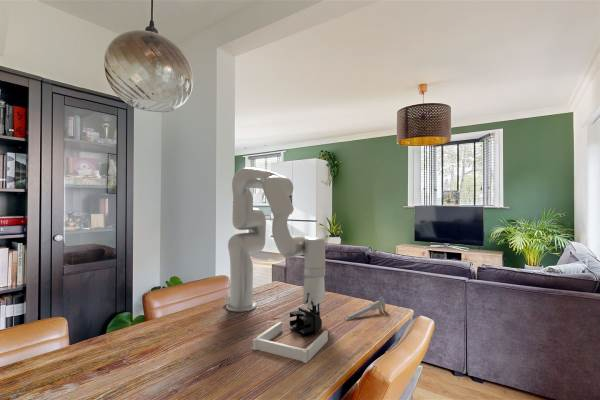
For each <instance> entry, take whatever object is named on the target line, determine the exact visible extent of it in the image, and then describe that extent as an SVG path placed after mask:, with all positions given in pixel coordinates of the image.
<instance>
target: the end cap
mask: <svg viewBox="0 0 600 400" xmlns="http://www.w3.org/2000/svg"><path fill="white" fill-rule="evenodd" d="M293 317H296V318H294V319H291V320H289V326H290V328H289V329H290V331H292V332H293V333H295V334H297V335H298V336H300V337H301V338H304V339H307V338H312V337H314V336H315V335H317V334H318V333H319V332H320V331H321V328H322V326H323V321H322V317H321V316H320V317H319V316H318V315H315V314H313V313H311V312H310V310H308V309H306V308H303V307H298V309H297V310H295V311H290V312H289V318H293Z"/></svg>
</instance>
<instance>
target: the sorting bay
mask: <svg viewBox="0 0 600 400" xmlns="http://www.w3.org/2000/svg"><path fill="white" fill-rule="evenodd" d="M282 332H283V322H282V321H279V322H277V323H275V324H274V325H271V327H269V328H268V329H266V330H265V331H263V332H262V333H261V334H259V335H258V336H255V337H254V338H253V339H252V350H254V351H256V350H257V351H262V352H264V353H269V354H274V355H277V356H280V357H285V358H287V359H288V358H289V359H292V360H296V361H300V362H302V363H303V364H304V363H305V364H307V363H308V362H309V361H310V360H311V359H312V358H313V357H314V356H315V355H316V354H317V353H318V352H319V350H320V349H322V347H323V346H325V345H326V343H327V342H328V341H329V331H328V330H324V331H323V332H322V333H321V334H320V335H319V336H318V337H316V339H314V340H313V342H311V343H310V344H309V345H308V346H307V347H306V348H303V347H297V346H293V345H289V344H285V343H280V342H276V341H272V339H274V337H276V336H277V335H279V334H280V333H282Z"/></svg>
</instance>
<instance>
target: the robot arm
mask: <svg viewBox="0 0 600 400" xmlns="http://www.w3.org/2000/svg"><path fill="white" fill-rule="evenodd" d="M231 188H232V225H233V227H234V228H235V229H236V230H239V231H244V230H245V231H247V230H248V232H240V233H239V232H238V233H235V234H233V235H232V236H231V237H230V238H229V240H228V241H227V248H228V252H229V261H230V262H229V263H230V277H229V278H230V279H229V280H230V281H229V282H230V283H229V285H230V286H229V287H230V288H229V289H230V290H229V292H230V293H229V294H226V295H224V298H223V301H226V302H227V304H226V309H227V311H230V312H237V313H238V312H239V313H240V312H242V313H243V312H248V311H251V310H255V309H256V307H257V302H256V301H254V295H253V294H254V292H253V291H254V283H253V282H254V280H253V279H254V267H253V266H254V264H253V260H252V259H251V256H250V255H252V254H257V253H260V252H262V251H263V250H264V248H265V245H266V231H267V230H266V228H267V219H266V215H265V213H264V211H263V210H262V209H260V208H259V207H254V198H253V194H252V191H251V189H261V190H262V191H263V193H264V196H265V198H266V200H267V202H268V205H269V208H270V210H271V213H272V216H273V218H272V223H271V224H272V226H271V234H272V238H273V241H274V243H275V246H276V248H277V250H278V252H279V254H280V255H281V256H282V257H284V258H288V259H291V258H296V257H299V256H304V281H303V282H304V283H303V291H302V292H303V295H302V303H303V304H304V305H307V309H306V310H308V311H309V312H311V313H313V314H315V315H318V316H319V317H320V318H321V305H322V304H321V303H322V301H324V299H325V295H326V288H325V286H326V285H325V283H326V282H325V276H326V240H325V239H324V238H323V237H320V236H319V237H318V236H313V237H312V236H311V237H310V236H307V235H294V236H292V234H291V232H290V230H289V227H288V226H289V225H288V219H289V216H290V215H292V213H293V212H294V210H295V209H294V208H295V207H294V205H293V203H292V201H291V198H290V196H291V195H292V194H293V192H294V183H293V182H292V180H291V179H290V178H288V177H286V176H284V175H281V174H278V173H276V172H274V171H270V170H269V169H264V168H256V167H251V166H250V167H248V166H247V167H242V168H240V169H238V170H236V172H235V173H234V174H233V177H232V180H231Z"/></svg>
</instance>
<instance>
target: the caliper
mask: <svg viewBox="0 0 600 400" xmlns="http://www.w3.org/2000/svg"><path fill="white" fill-rule="evenodd" d="M376 310H378V312H379V313H383V312H385V311H386V300H385V299H384V297H382V296H380V297H378V300H376V301H375V302H372V303H371V304H369V305H368V306H366V307H364V308H361V309H360V310H357V311H355V312H353V313H352V314H349V315H347V317H346V318H345V319H344V320H345V321H350V320H354V319H356V318H358V317H360V316H362V315H364V314H366V313H368V312H371V311H372V312H374V311H376Z"/></svg>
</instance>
